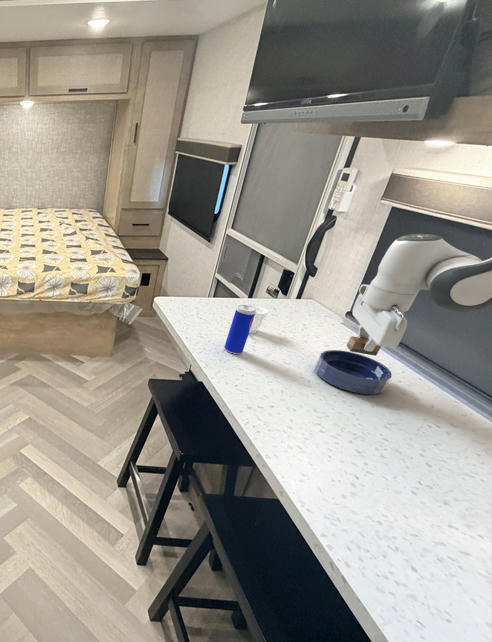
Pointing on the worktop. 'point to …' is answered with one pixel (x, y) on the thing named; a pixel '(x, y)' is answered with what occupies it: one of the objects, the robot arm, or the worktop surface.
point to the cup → (258, 318)
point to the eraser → (360, 346)
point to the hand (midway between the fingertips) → (363, 345)
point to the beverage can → (240, 329)
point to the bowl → (352, 372)
